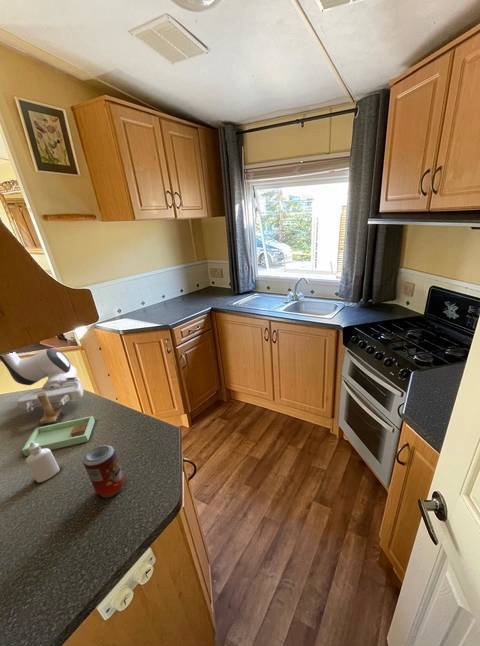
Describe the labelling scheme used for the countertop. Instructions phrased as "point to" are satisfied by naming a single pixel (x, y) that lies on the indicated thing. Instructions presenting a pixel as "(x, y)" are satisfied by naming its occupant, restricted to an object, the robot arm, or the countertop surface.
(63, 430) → the tray
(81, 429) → the wooden block
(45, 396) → the brush
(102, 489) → the soda can
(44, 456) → the eye dropper bottle
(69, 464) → the countertop surface
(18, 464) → the countertop surface
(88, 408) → the countertop surface
